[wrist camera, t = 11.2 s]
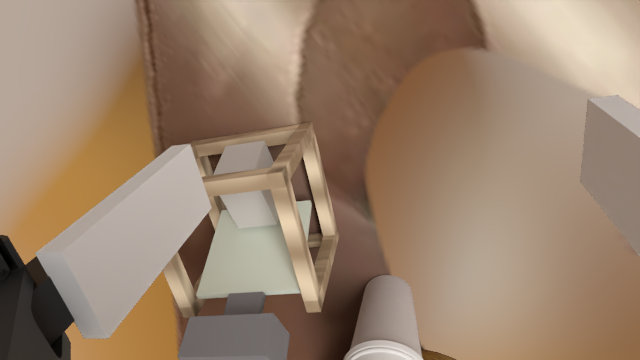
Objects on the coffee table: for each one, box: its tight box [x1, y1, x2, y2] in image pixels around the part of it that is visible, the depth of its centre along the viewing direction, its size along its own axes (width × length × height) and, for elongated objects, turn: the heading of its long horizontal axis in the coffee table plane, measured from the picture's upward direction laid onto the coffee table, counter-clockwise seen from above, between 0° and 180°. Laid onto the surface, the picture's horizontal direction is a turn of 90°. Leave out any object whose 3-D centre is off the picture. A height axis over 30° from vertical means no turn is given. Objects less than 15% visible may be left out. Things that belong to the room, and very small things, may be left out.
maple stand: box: [162, 122, 339, 318], centre depth 48 cm, size 16×16×14 cm
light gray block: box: [213, 140, 279, 229], centre depth 50 cm, size 6×5×8 cm
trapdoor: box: [178, 200, 312, 360], centre depth 47 cm, size 20×12×5 cm
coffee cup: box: [344, 275, 423, 360], centre depth 52 cm, size 10×10×15 cm
